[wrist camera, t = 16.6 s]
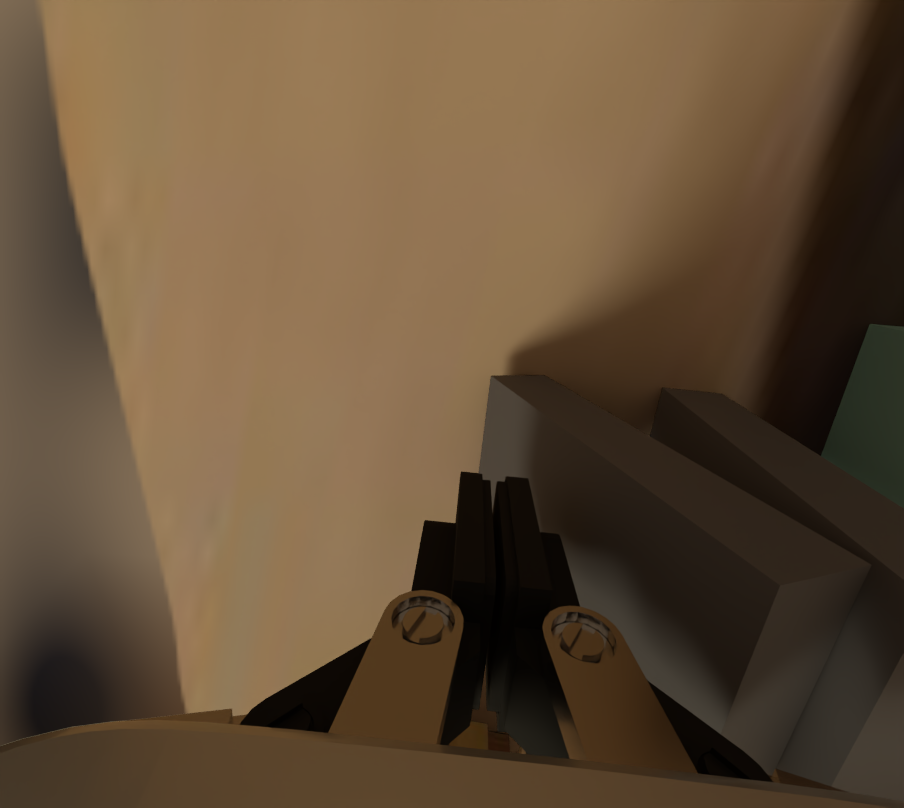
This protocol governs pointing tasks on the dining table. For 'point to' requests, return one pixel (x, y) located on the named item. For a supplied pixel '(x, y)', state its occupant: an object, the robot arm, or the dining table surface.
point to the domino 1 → (678, 561)
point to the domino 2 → (875, 608)
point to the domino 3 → (873, 415)
